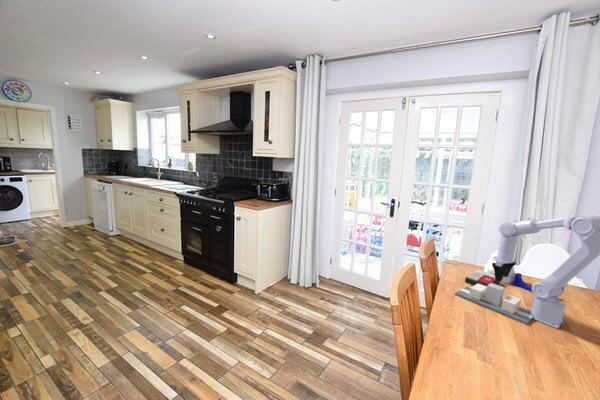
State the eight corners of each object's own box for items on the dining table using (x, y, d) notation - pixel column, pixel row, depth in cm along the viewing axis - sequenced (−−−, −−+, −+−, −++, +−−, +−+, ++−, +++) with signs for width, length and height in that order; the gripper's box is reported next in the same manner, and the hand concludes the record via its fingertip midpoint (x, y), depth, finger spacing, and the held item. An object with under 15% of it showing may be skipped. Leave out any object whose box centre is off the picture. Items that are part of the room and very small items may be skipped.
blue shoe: (546, 294, 128) (549, 282, 127) (542, 296, 126) (544, 284, 125) (517, 283, 138) (519, 272, 137) (512, 284, 136) (514, 273, 135)
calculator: (465, 276, 135) (476, 268, 145) (464, 284, 136) (475, 275, 145) (490, 284, 127) (501, 275, 136) (489, 293, 128) (499, 283, 137)
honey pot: (499, 284, 136) (505, 250, 133) (477, 273, 148) (483, 241, 146) (519, 283, 139) (526, 249, 136) (497, 272, 151) (502, 241, 148)
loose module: (501, 302, 115) (504, 287, 114) (498, 306, 112) (500, 290, 111) (488, 297, 119) (491, 282, 118) (484, 300, 116) (487, 285, 115)
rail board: (535, 315, 109) (536, 312, 109) (526, 324, 102) (527, 322, 102) (466, 288, 129) (466, 285, 129) (454, 294, 122) (455, 292, 122)
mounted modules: (519, 307, 111) (521, 299, 111) (513, 313, 107) (514, 304, 106) (476, 291, 124) (477, 283, 123) (469, 296, 119) (470, 287, 119)
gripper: (501, 244, 125) (496, 271, 128) (489, 249, 117) (484, 278, 119) (520, 248, 120) (515, 277, 122) (509, 254, 111) (503, 284, 113)
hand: (501, 278), depth 120 cm, fingers open, 7 cm apart
